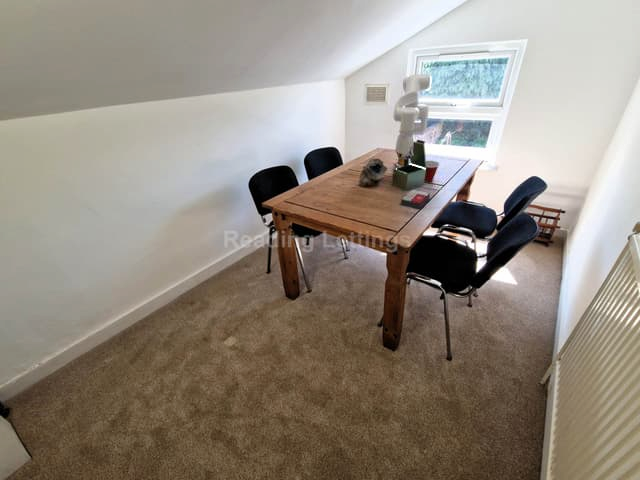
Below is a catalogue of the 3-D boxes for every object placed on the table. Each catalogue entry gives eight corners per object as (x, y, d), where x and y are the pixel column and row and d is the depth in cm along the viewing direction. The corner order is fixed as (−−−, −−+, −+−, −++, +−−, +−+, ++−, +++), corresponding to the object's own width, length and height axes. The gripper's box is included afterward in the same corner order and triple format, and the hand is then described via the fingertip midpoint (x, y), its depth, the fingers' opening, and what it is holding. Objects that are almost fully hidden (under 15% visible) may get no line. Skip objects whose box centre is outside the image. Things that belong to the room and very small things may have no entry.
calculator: (401, 198, 158) (411, 188, 167) (400, 205, 160) (411, 195, 170) (420, 203, 152) (430, 192, 162) (419, 210, 154) (429, 198, 164)
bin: (406, 190, 176) (408, 174, 170) (391, 184, 185) (393, 168, 179) (423, 185, 182) (426, 168, 177) (409, 179, 192) (411, 163, 186)
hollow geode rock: (379, 180, 205) (367, 163, 205) (393, 170, 196) (380, 153, 196) (361, 193, 186) (348, 174, 185) (375, 182, 176) (361, 163, 176)
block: (397, 164, 174) (398, 157, 172) (402, 163, 176) (403, 155, 174) (402, 166, 171) (403, 159, 168) (408, 164, 173) (409, 157, 170)
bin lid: (423, 144, 166) (429, 140, 167) (407, 140, 175) (413, 136, 176) (425, 168, 176) (431, 164, 177) (410, 163, 186) (416, 159, 187)
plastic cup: (418, 182, 186) (420, 164, 180) (420, 177, 194) (423, 159, 188) (435, 184, 182) (438, 166, 175) (437, 179, 190) (440, 161, 184)
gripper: (391, 132, 168) (388, 162, 178) (412, 137, 156) (408, 169, 166) (400, 130, 171) (397, 160, 181) (422, 134, 159) (417, 166, 169)
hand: (402, 164), depth 173 cm, fingers closed on block, 4 cm apart
